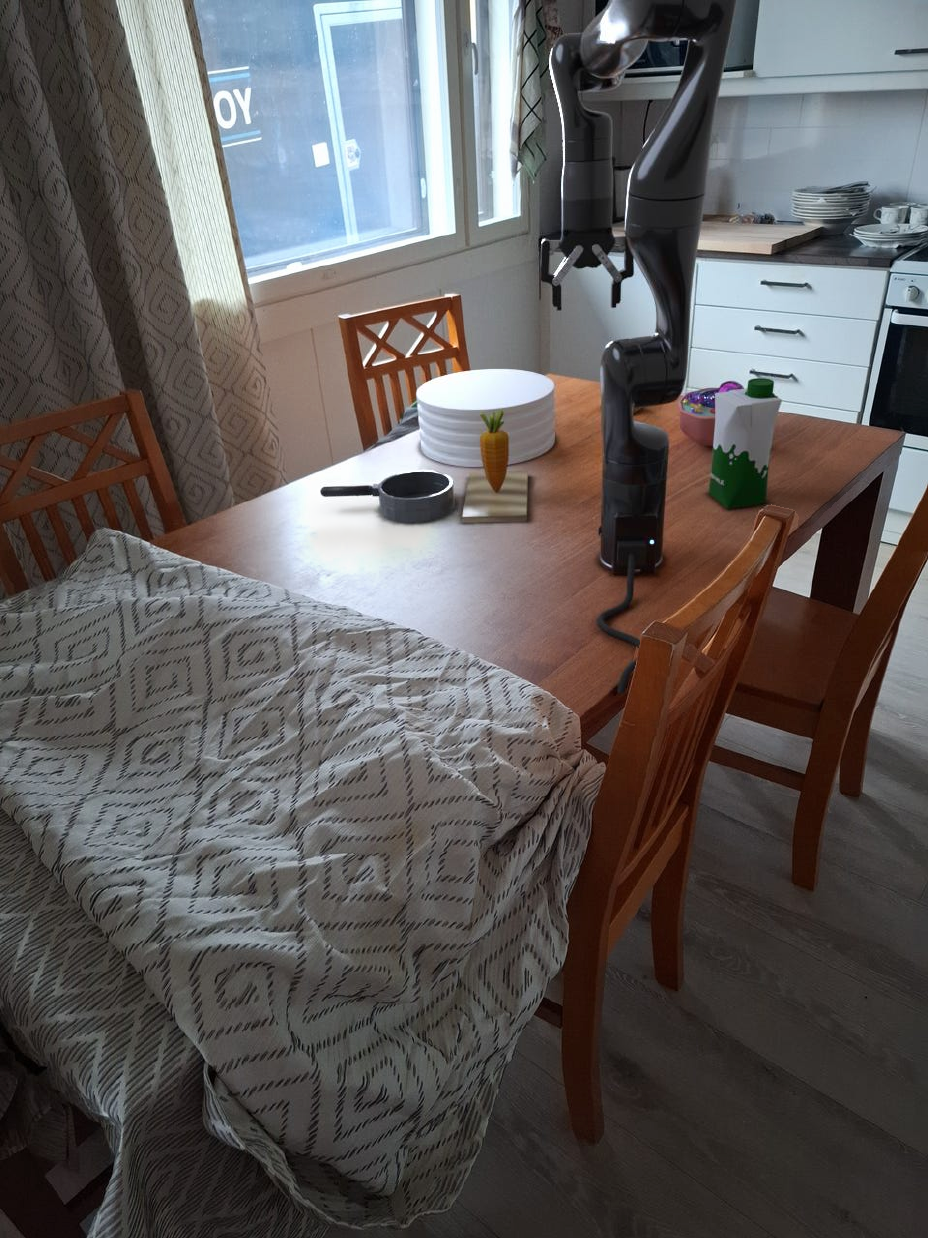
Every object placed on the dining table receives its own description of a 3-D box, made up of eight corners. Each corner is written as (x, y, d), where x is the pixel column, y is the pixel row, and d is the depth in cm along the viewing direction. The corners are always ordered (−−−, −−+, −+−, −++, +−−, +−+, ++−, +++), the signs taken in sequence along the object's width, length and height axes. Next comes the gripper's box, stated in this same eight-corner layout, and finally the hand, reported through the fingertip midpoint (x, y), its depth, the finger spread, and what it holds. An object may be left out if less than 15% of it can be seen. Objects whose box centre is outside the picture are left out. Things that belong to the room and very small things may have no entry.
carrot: (477, 493, 154) (472, 411, 146) (495, 484, 157) (491, 404, 149) (498, 500, 151) (494, 416, 143) (516, 490, 154) (513, 408, 146)
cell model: (653, 446, 171) (656, 390, 166) (711, 420, 182) (716, 366, 177) (727, 466, 160) (733, 406, 155) (784, 437, 171) (791, 380, 166)
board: (526, 521, 145) (526, 515, 145) (462, 523, 146) (461, 516, 146) (527, 476, 162) (527, 470, 162) (469, 478, 163) (469, 472, 163)
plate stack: (436, 475, 165) (431, 417, 159) (410, 430, 189) (405, 378, 183) (573, 455, 170) (574, 398, 164) (531, 413, 194) (530, 362, 188)
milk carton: (773, 504, 145) (789, 386, 134) (724, 512, 143) (736, 394, 133) (747, 485, 152) (760, 372, 142) (700, 492, 151) (709, 379, 140)
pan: (451, 522, 147) (449, 498, 144) (375, 524, 148) (372, 500, 146) (457, 491, 158) (455, 468, 156) (386, 494, 159) (384, 471, 157)
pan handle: (382, 492, 153) (381, 483, 152) (380, 496, 151) (379, 487, 150) (322, 494, 154) (320, 484, 153) (320, 498, 152) (318, 489, 151)
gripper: (539, 199, 124) (541, 315, 133) (638, 193, 123) (634, 310, 132) (538, 195, 131) (540, 305, 139) (633, 188, 130) (629, 301, 138)
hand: (586, 308), depth 135 cm, fingers open, 8 cm apart
